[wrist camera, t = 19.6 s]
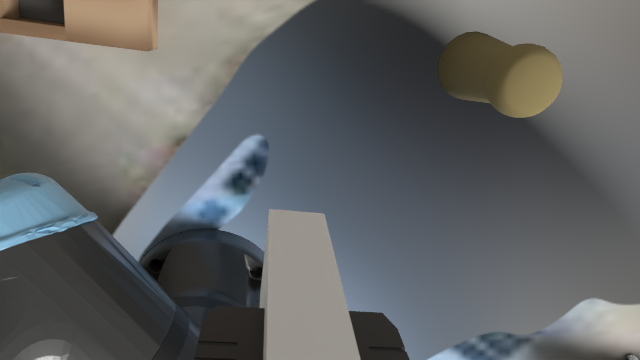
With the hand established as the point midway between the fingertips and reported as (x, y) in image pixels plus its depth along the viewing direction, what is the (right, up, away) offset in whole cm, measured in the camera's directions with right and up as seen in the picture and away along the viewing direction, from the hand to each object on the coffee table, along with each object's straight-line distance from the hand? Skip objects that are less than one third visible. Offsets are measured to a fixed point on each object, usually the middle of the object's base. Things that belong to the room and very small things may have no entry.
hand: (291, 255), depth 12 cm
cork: (+14, +13, +29) cm, 34 cm away
